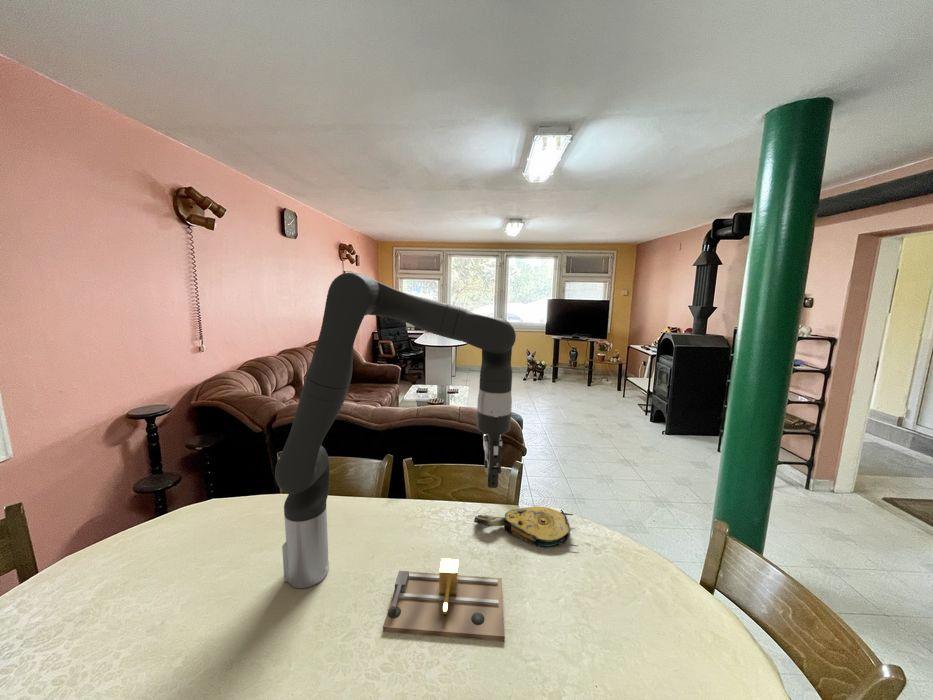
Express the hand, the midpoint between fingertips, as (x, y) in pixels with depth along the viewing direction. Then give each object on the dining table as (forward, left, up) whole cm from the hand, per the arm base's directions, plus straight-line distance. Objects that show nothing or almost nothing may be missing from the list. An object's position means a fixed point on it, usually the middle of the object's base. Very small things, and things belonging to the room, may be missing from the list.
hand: (490, 476), depth 82 cm
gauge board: (-9, -6, -28) cm, 30 cm away
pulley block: (+11, +22, -29) cm, 38 cm away
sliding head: (-9, -6, -27) cm, 29 cm away
